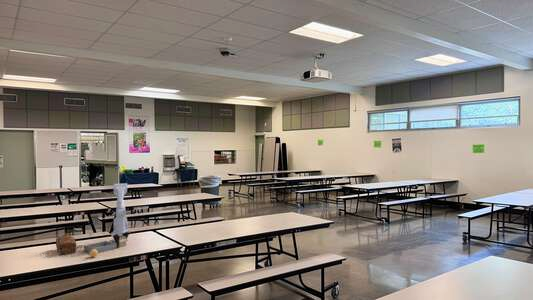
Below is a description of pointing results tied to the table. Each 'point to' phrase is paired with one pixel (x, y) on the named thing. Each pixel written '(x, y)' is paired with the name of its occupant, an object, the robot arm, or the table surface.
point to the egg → (93, 253)
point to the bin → (101, 246)
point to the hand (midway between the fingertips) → (120, 244)
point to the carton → (122, 241)
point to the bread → (65, 245)
